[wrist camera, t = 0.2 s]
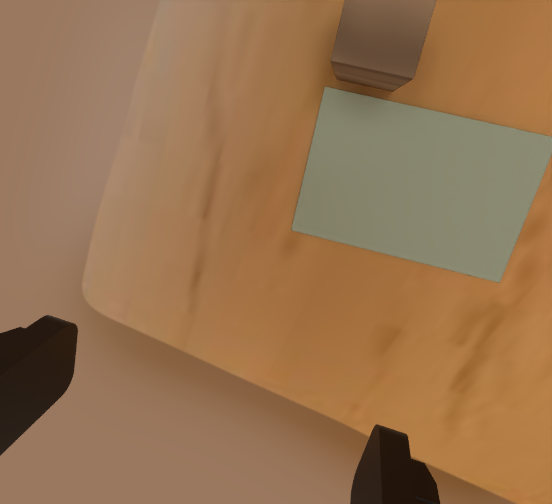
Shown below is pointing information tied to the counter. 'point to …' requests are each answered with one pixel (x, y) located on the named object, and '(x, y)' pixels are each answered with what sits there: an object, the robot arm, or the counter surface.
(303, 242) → the counter surface
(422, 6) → the walnut block
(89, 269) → the counter surface
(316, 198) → the mat
